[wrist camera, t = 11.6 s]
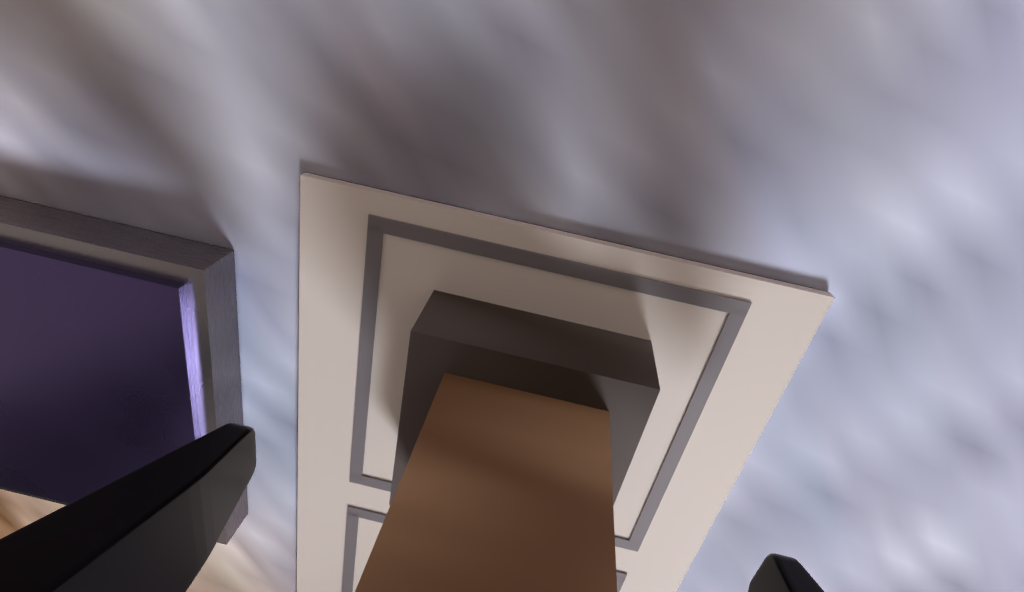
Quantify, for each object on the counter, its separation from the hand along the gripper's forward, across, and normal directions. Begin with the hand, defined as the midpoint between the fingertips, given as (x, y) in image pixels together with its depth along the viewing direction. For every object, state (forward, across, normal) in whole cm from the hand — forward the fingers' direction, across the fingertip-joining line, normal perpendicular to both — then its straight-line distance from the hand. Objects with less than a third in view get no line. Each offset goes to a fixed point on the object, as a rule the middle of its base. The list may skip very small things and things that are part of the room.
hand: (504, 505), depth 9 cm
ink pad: (+3, +10, +2) cm, 11 cm away
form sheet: (+3, 0, +4) cm, 5 cm away
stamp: (+3, 0, 0) cm, 3 cm away
